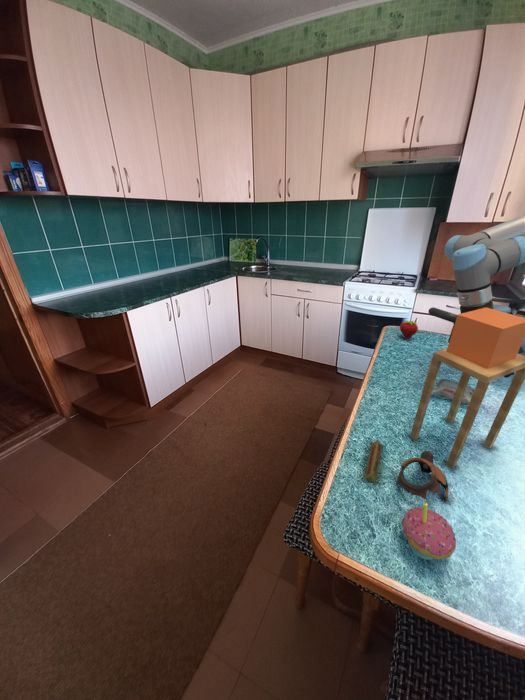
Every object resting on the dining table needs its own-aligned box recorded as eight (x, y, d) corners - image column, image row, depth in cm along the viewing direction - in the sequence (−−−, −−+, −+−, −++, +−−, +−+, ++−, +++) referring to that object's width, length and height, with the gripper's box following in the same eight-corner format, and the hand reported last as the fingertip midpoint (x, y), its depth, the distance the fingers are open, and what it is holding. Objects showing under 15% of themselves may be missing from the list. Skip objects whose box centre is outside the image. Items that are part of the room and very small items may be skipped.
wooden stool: (448, 419, 85) (477, 338, 73) (492, 446, 75) (533, 359, 63) (409, 436, 79) (433, 352, 67) (451, 469, 69) (488, 377, 57)
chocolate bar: (381, 447, 76) (383, 440, 74) (375, 483, 66) (377, 476, 65) (371, 444, 77) (372, 437, 76) (364, 479, 67) (365, 472, 66)
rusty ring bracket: (453, 516, 59) (442, 494, 56) (404, 509, 65) (391, 489, 62) (451, 463, 67) (441, 442, 64) (407, 461, 73) (396, 441, 70)
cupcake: (398, 560, 52) (412, 518, 46) (396, 517, 59) (409, 476, 53) (452, 579, 49) (475, 538, 44) (444, 531, 56) (463, 490, 51)
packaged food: (471, 412, 87) (476, 398, 85) (428, 397, 94) (432, 384, 92) (475, 398, 93) (480, 386, 91) (434, 385, 100) (438, 373, 98)
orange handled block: (436, 328, 79) (445, 296, 75) (515, 358, 63) (532, 320, 59) (410, 335, 75) (418, 301, 71) (487, 369, 60) (502, 328, 56)
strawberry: (399, 334, 138) (404, 314, 133) (416, 338, 133) (421, 318, 129) (395, 338, 134) (399, 318, 129) (412, 342, 129) (418, 321, 125)
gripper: (428, 305, 92) (439, 364, 98) (514, 310, 69) (522, 387, 75) (447, 297, 94) (457, 355, 99) (537, 299, 70) (543, 375, 76)
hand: (484, 369), depth 87 cm, fingers open, 13 cm apart
